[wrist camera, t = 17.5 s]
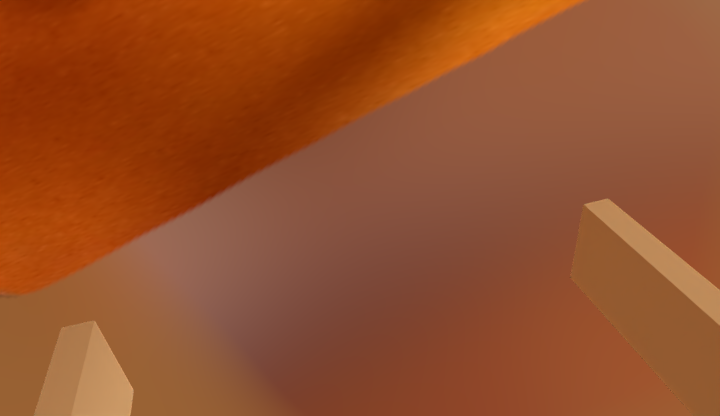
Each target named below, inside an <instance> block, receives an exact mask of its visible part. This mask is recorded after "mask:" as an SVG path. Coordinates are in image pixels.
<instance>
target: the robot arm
mask: <svg viewBox="0 0 720 416" xmlns="http://www.w3.org/2000/svg"><path fill="white" fill-rule="evenodd" d="M570 278H571V279H572V280H573V281H574V282H575V283H576V285H577V286H578V287H579V288H580V289H581V290H582V291H583V292H584V294H585V295H586V296H587V297H588V298H589V299H590V300H591V301H592V302H593V304H594V305H595V306H596V307H597V308H598V309H599V310H600V311H601V313H602V314H603V315H604V316H605V317H606V318H607V319H608V321H609V322H610V323H611V324H612V325H613V326H614V327H615V328H616V329H617V331H618V332H619V333H620V334H621V335H622V336H623V337H624V338H625V340H626V341H627V342H628V343H629V344H630V345H631V346H632V347H633V349H634V350H635V351H636V352H637V353H638V354H639V355H640V356H641V357H642V359H643V360H644V361H645V362H646V363H647V364H648V365H649V366H650V368H651V369H652V370H653V371H654V372H655V373H656V374H657V376H658V377H659V378H660V379H661V380H662V381H663V382H664V383H665V384H666V386H667V387H668V388H669V389H670V390H671V391H672V392H673V394H675V396H676V397H677V398H678V399H679V400H680V401H681V402H682V404H683V405H685V407H686V408H687V409H688V410H689V411H690V413H691V414H692V415H693V416H720V290H719V289H718V288H716V287H715V286H714V285H713V284H712V283H710V282H709V281H708V280H707V279H705V278H704V277H703V276H702V275H701V274H699V273H698V272H697V271H696V270H694V269H693V268H692V267H691V266H690V265H688V264H687V263H686V262H685V261H683V260H682V259H681V258H680V257H679V256H677V255H676V254H675V253H674V252H672V251H671V250H670V249H669V248H668V247H667V246H665V245H664V244H663V243H662V242H660V241H659V240H658V239H657V238H656V237H654V236H653V235H652V234H651V233H649V232H648V231H647V230H645V228H643V227H642V226H641V225H640V224H638V223H637V222H636V221H635V220H633V219H632V218H631V217H630V216H629V215H627V214H626V213H625V212H624V211H623V210H621V209H620V208H619V207H618V206H617V205H615V204H614V203H613V202H612V201H610V200H609V199H604V200H600V201H596V202H591V203H587V204H584V205H583V210H582V216H581V221H580V227H579V232H578V238H577V244H576V249H575V255H574V260H573V266H572V272H571V277H570ZM133 392H134V391H133V389H132V387H131V385H130V383H129V381H128V380H127V378H126V376H125V374H124V372H123V370H122V369H121V367H120V365H119V363H118V361H117V360H116V358H115V356H114V354H113V353H112V351H111V349H110V347H109V345H108V344H107V342H106V340H105V338H104V336H103V335H102V333H101V331H100V329H99V327H98V325H97V324H96V322H95V321H94V320H93V321H89V322H85V323H81V324H76V325H72V326H68V327H64V328H61V331H60V334H59V337H58V340H57V343H56V347H55V350H54V353H53V356H52V360H51V363H50V366H49V369H48V372H47V375H46V379H45V382H44V385H43V388H42V391H41V394H40V398H39V401H38V404H37V407H36V411H35V414H34V416H130V414H131V406H132V399H133Z"/></svg>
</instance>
